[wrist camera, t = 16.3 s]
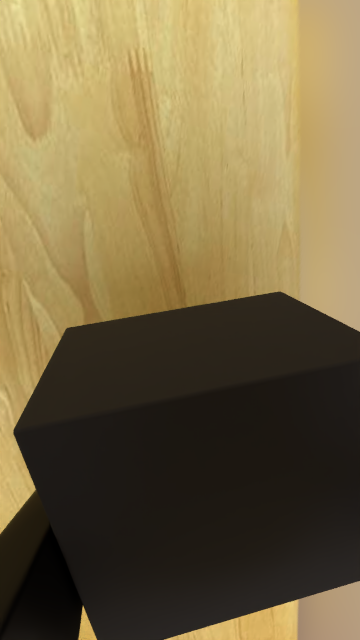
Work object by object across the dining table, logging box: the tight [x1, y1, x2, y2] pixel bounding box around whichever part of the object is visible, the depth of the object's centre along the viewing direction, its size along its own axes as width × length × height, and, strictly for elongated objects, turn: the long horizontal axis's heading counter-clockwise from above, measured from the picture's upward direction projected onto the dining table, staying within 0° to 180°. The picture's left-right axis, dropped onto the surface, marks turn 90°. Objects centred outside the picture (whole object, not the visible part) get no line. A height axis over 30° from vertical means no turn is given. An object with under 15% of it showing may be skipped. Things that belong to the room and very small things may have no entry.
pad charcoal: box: [14, 292, 360, 640], centre depth 7 cm, size 6×6×4 cm
